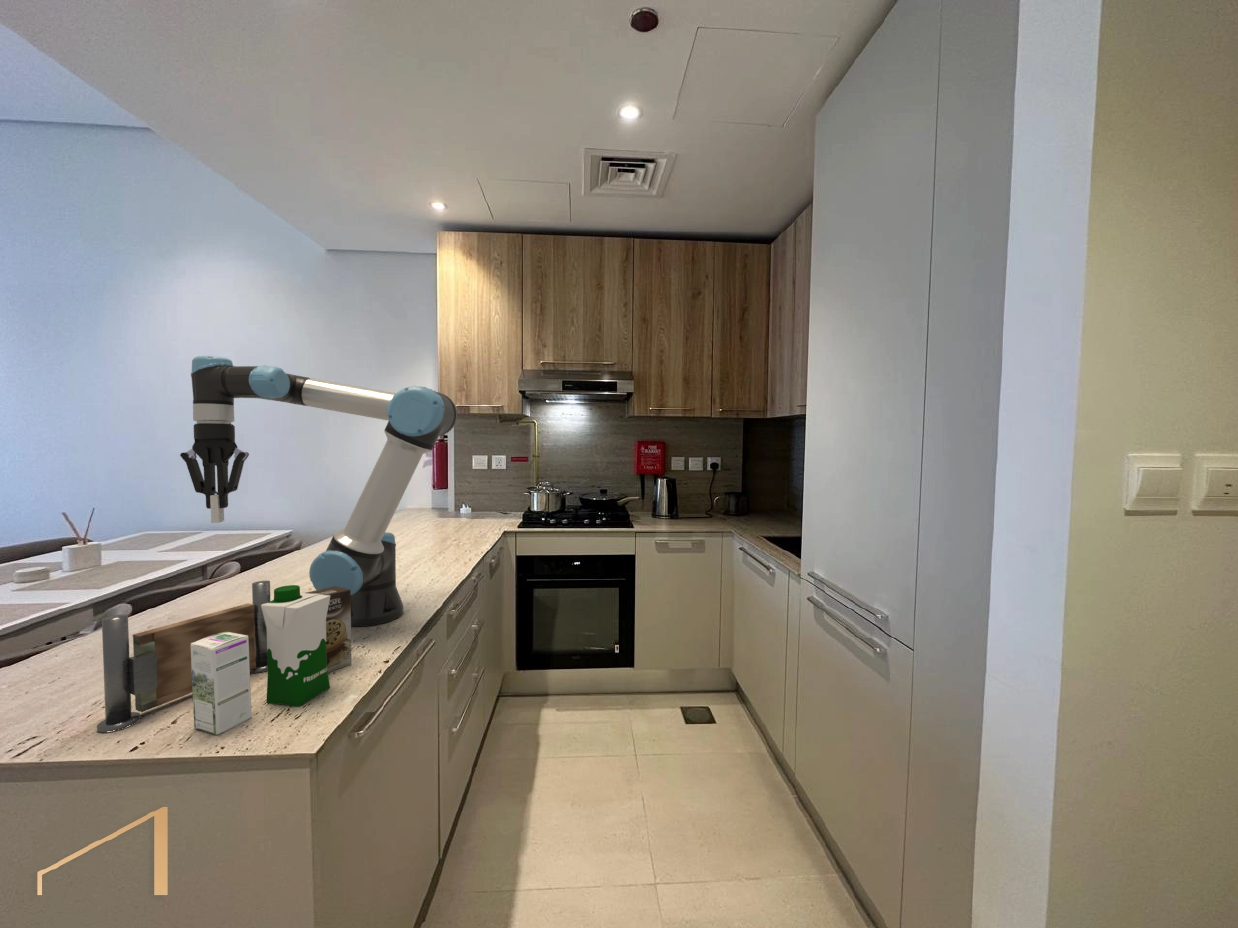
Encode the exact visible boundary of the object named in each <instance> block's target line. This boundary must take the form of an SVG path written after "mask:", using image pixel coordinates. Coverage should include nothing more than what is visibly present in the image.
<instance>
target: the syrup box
mask: <svg viewBox="0 0 1238 928" xmlns="http://www.w3.org/2000/svg"><path fill="white" fill-rule="evenodd" d="M191 668H192V691H193V693H192V708H193V728H194V729H195V730H199V731H202V732H206V733H208V734H213V735H217V736H218V735H220V734H222V733H224V732H226V731H228V730H230V729H232V728H235V727H237V726H239V725H240V724H243V723H244V722H247V721H248V720H250V719H251V718H252V716H253V715H252V695H251V692H252V691H251V689H252V688H251V673H250V665H249V641H248V636H247V635H242V634H236V633H231V632H222V633H219V634H215V635H212V636H209V637H206V638H203V639H201V640H198V641H196V642H194V643H191Z"/></svg>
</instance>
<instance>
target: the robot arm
mask: <svg viewBox="0 0 1238 928" xmlns="http://www.w3.org/2000/svg"><path fill="white" fill-rule="evenodd" d="M190 377H191V387H192V388H191V389H192V399H193V400H192V420H193V421H194V422H196V423H194V425H193V439H194V442H193V444H192V446H191V449H190V450H187V451H185V452H181V453H180V454H179V455H180V458H182V460H183V461H184V463H186V467H187V470H188V473H189V476H190V479H191V483H192V485H193V488H194V491H195V493H199V494H203V495H205V507H206V509H207V510H209V509H210V523H211V524H217V523H221V522H225V509H226V508H228V507H229V494H231V493H232V492H236V491H237V490H238V488H239V484H240V480H241V476H242V472H243V468H244V464H245V461H246V460H247V458H249V455H250V454H249V452H247V451H243V450H242V449H239V447H238V445H237V443H236V429H235V428H236V427H235V425H234V424H232V423H233V422H235V399H260V400H266V401H267V400H268V401H274V402H275V401H276V402H281V403H282V402H283V403H287V404H292V405H298V406H303V407H304V406H305V407H311V408H315V409H316V408H318V409H323V410H327V411H333V412H334V411H335V412H339V413H345V414H349V415H355V416H362V417H366V418H372V419H378V420H383V421H388V422H387V424H386V426H385V428H384V431H383V432H384V434H385V436H386V438H387V439H386V442H385V444H384V445H383V449H382V450H381V452H380V455H379V457H378V459H377V460H376V463H375V465H374V466H373V469H372V471H371V473H370V475H369V477H368V479H367V481H366V484H365V486H364V487H363V490H362V492H361V493H360V496H359V498H358V499H357V501H356V504H355V506H354V508H353V510H352V513H351V514H350V516H349V519H348V520H347V522H346V524H345V527H344V528H342V529H340V530H337V531H335V533H333V535H332V537H331V539H330V542H329V543H328V546H327V548H326V550H325V551H323V552H321V553H319V554H318V556H316V557H315V558H314V559H313V560H312V561H311V564H310V566H309V572H308V573H309V575H308V576H309V581H310V582H311V583H312V585H313V586H312V587H313V588H314V589H315V590H320V589H324V588H329V587H333V586H337V587H341V588H346V589H349V590H351V591H350V593H351V627H368V626H375V625H380V624H385V623H389V622H391V621H394V620H397V619H399V618H400V617H401V616H402V615H404V603H403V601H402V597H401V595H400V594H399V590H398V587H397V582H396V581H397V576H396V575H397V572H396V571H397V570H396V567H397V564H396V561H397V560H396V556H397V555H396V551H397V549H396V548H397V544H396V543H397V542H396V537H395V535H394V534H393V533H392V532H389V531H388V532H387V529H388V528H389V525H390V523H391V521H392V519H393V518H394V515H395V513H396V511H397V508H398V506H399V504H400V502H401V500H402V498H403V496H404V494H405V491H406V490H407V488H408V486H409V484H410V481H411V480H412V478H413V475H414V473H415V471H416V470H417V468H418V465H419V463H420V462H421V459H422V457H423V455H424V454H427V453H429V452H433V449H434V447H435V445H436V443H437V441H438V439H439V438H440V437H441V436H444V435H447V434H448V433H449V432H451V431H452V430H453V429H454V427H455V425H457V424H456V423H457V421H458V409H457V407H456V404H455V402H453V400H452V399H451V398H450V397H449V396H447V395H445V394H444V393H441V392H438V391H436V390H433V389H432V388H428V387H426V386H416V385H413V386H408V387H404V388H401V389H399V391H397V392H390V391H385V390H381V389H380V390H379V389H373V388H367V387H362V386H357V385H351V384H346V383H340V382H336V381H335V382H334V381H329V380H324V379H317V378H312V377H307V376H301V375H296V374H291V373H287V372H285V371H284V369H283V368H282V367H278V366H271V365H260V366H259V365H256V366H255V365H253V366H251V365H246V366H244V365H241V366H237V365H236V366H235V365H234V364H233V361H232V360H231V359H229V358H226V357H222V356H221V357H220V356H214V355H213V356H212V355H211V356H210V355H197V356H195V357H193V359H192V361H191V373H190ZM232 456H233V458H234V460H233V462H232V466H231V470H230V474H229V464H230V463H229V460H230V459H231V458H232ZM198 457H199V458H200V459H201V462H202V467H203V474H202V470H201V468H200V464H199V462H198V460H197V458H198ZM216 478H217V479H216ZM216 480H217V481H216ZM216 482H217V484H216ZM216 485H217V488H216ZM216 489H217V490H216Z"/></svg>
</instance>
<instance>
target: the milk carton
mask: <svg viewBox="0 0 1238 928" xmlns="http://www.w3.org/2000/svg"><path fill="white" fill-rule="evenodd" d="M300 588H301V586H300V585H297V584H296V585H295V584H293V585H292V584H291V585H284V586H280V587H279V586H278V587H276V588H274V589H273V599H272V600H270V602H267V603H265V604H262V605H261V608H262V612H263V616H264V620H265V624H266V629H267V663H268V671H267V685H266V701H265V702H266V703H270V704H278V705H284V706H285V705H286V706H291V707H301V706H303V705H304V704H305V703H307V702H309V701H311V700H312V699H314V698H315V697H317V696H319V695H321V694H322V693H324V692H325V691H326V690H328V689H330V688H331V686H330V678H329V672H328V669H327V649H326V616H327V611H328V606H329V601H330V595H320V594H309V593H306V592H301V589H300Z"/></svg>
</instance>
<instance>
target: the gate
mask: <svg viewBox="0 0 1238 928" xmlns="http://www.w3.org/2000/svg"><path fill="white" fill-rule="evenodd" d="M222 632H231V633H236V634H242V635H247V636H248V641H249V665H250V670H252V669H254V668H256V662H255V639H254V604H253V603H244V604H240V605H237V606H234V607H233V606H232V607H231V608H230V607H229V608H226V609H222V610H218V611H215V612H212V613H208V614H204V615H200V616H196V617H193V618H189V619H186V620H182V621H178V622H175V623H170V624H167V625H163V626H160V627H159V626H158V627H155V628H152V629H149V630H148V629H147V630H145V631H141V632H137V633H134V634H132V642H133V643H132V645H133V647H132V648H133V656H137V655H140V654H143V653H147V652H150V651H153V652H156V654H157V684H158V687H156V688H154V689H151V690H148V691H145V692H142V693H140V694H137V695H134V699H135V700H134V701H135V702H134V703H135V711H136V712H137V711H138V712H139V713H144V712H146V711H148V710H151V709H155V708H156V707H160V706H162V705H164V704H167V703H169V702H172V701H175V700H177V699H180V698H182V697H184V696H187V695H190V694H193V691H192V668H191V643H194V642H196V641H198V640H201V639H203V638H206V637H209V636H212V635H215V634H219V633H222Z"/></svg>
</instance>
